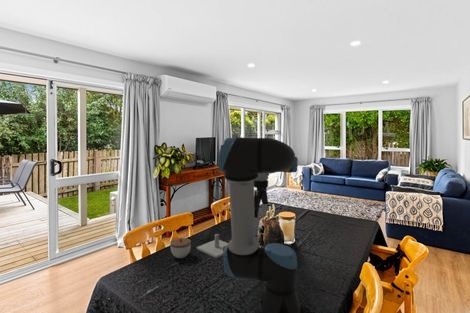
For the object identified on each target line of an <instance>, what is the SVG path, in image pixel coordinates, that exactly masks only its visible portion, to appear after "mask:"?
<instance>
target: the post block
mask: <svg viewBox="0 0 470 313" xmlns="http://www.w3.org/2000/svg"><path fill="white" fill-rule="evenodd" d="M228 243H229V242H226V241H223V240H221V239H220V234H219V233H216V234H214V239H213V240H211V241H209V242H206V243H203V244H202V245H199V246H196V250H198V251H200V252H202V253H204V254H207V255H209V256H210V257H213V258H215V259H219V258H220V257H223V247H224V246H226V245H228Z"/></svg>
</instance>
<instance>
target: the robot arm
mask: <svg viewBox="0 0 470 313" xmlns="http://www.w3.org/2000/svg"><path fill="white" fill-rule="evenodd" d="M298 161H299V160H298V157H297V156H296V154H295V151H294V150H293V148H292V147H291V146H290V145H288V144H287V143H285V142H283V141H280V140H278V139H274V138H271V137H239V136H237V137H226V138H225V139H224V140H223V141H222V142H221V145H220V147H219V152H218V157H217V168H218V171H219V172H221V173H223V175H224V179H225V180H226V181H228V186H229V204H230V225H231V239H230V240H229V241H228V242H227V243H228V245H227V246H226V247H225V250H224V258H223V267H224V271H225V274H226V275H228V276H229V277H231V278H235V279H245V280H252V281H259V282H263V284H264V286H263V288H262V292H261V295H260V297H259V302H258V303H259V310H260V312H261V313H301V303H300V300H299V296H298V293H297V268H298V261H297V254H296V251H295V250H294V249H293V248H291V247H290V246H287V245H285V244H282V243H278V242H277V243H276V242H272V243H268V244H266V245H265V246H264V247H260V242H259V241H258V240H257V239H256V233H255V232H256V230H255V229H256V226H255V225H257V224H258V225H259V224H260V216H263V217H267V209H268V208H267V207H268V205H269V199H268V192H267V191H268V190H267V188H268V187H269V180H268V179H269V176H270V174H273V173H290V174H291V173H297V172H298V163H299V162H298ZM255 188H256V190H255ZM260 205H261V215H260Z"/></svg>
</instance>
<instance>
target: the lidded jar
mask: <svg viewBox="0 0 470 313" xmlns="http://www.w3.org/2000/svg"><path fill="white" fill-rule="evenodd" d="M169 245H170V251H171V254H172V255H173V256H174V257H175V258H176V259H184V258H186V257H187V256H188V255H189V253H190V251H191V247H192V246H191V245H192V241H191V239H189V238H188V237H178V238H174V239H172V240H171V241H170V244H169Z"/></svg>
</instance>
